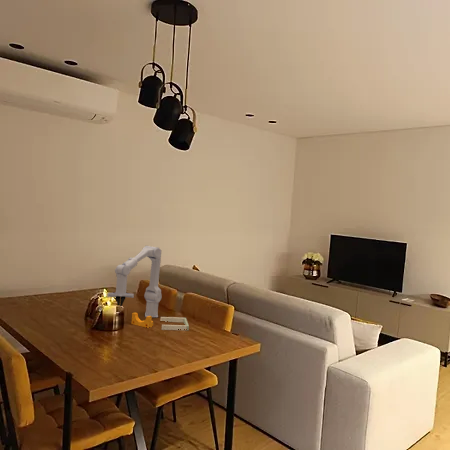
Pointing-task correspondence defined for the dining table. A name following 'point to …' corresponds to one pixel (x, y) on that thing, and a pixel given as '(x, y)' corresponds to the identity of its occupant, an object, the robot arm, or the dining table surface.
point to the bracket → (174, 327)
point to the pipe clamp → (146, 323)
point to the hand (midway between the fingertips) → (119, 309)
